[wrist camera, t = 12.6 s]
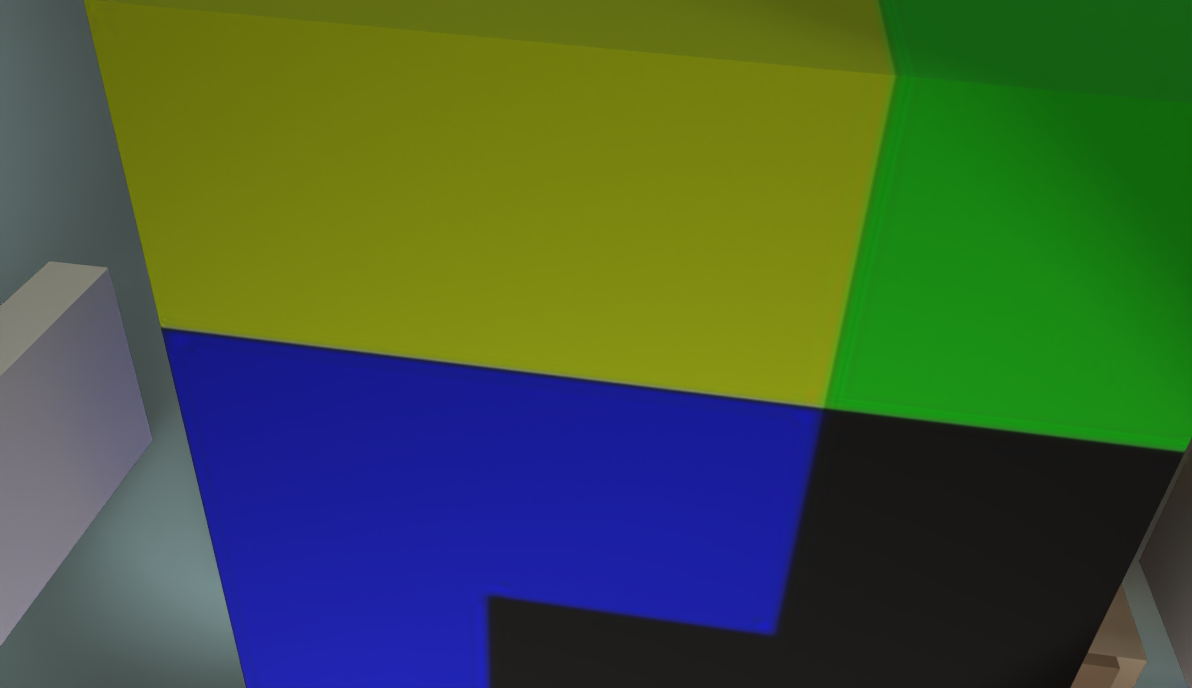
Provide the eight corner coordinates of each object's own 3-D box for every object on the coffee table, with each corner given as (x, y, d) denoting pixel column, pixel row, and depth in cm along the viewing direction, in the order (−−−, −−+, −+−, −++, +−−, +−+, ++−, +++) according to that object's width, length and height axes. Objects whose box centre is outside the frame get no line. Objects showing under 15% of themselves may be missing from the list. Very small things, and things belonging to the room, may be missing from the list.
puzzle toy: (441, 321, 23) (254, 724, 15) (416, -197, 17) (83, -1, 9) (917, 378, 22) (996, 839, 14) (1063, -150, 16) (1346, 117, 8)
